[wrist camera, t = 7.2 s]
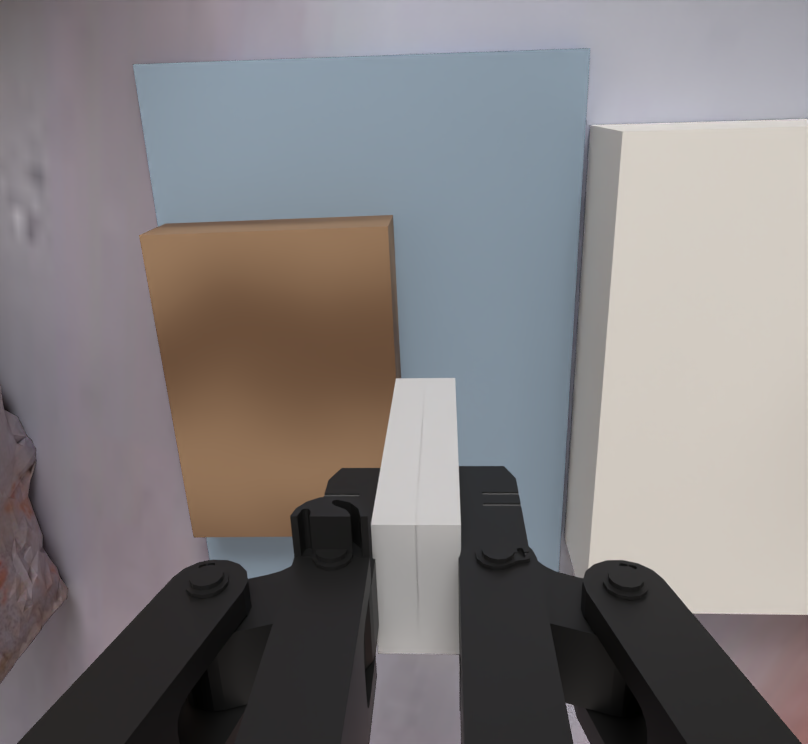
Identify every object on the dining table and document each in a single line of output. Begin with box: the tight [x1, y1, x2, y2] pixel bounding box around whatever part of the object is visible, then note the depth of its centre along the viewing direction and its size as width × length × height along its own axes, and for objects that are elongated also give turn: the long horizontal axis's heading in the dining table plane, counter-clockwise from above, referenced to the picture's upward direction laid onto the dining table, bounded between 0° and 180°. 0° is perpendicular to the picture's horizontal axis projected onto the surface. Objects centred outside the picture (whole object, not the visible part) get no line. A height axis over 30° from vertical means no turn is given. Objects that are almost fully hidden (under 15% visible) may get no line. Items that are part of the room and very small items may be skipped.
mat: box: [133, 48, 590, 579], centre depth 23 cm, size 18×13×1 cm
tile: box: [139, 215, 401, 537], centre depth 22 cm, size 10×7×2 cm
